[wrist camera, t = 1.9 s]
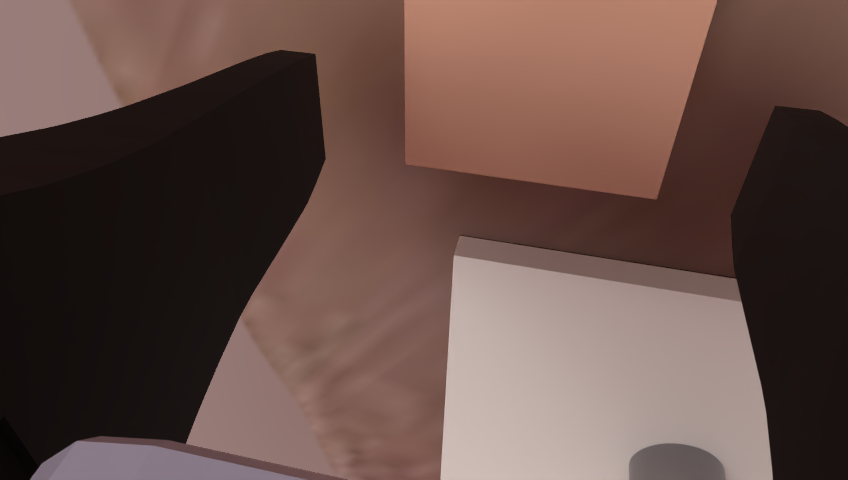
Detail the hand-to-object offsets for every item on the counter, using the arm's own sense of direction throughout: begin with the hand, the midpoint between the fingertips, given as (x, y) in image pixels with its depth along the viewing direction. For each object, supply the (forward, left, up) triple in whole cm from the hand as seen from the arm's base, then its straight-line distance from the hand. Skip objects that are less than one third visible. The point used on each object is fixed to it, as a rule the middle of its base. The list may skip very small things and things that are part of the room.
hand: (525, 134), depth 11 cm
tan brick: (0, 0, -7) cm, 7 cm away
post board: (-7, +17, -7) cm, 20 cm away
